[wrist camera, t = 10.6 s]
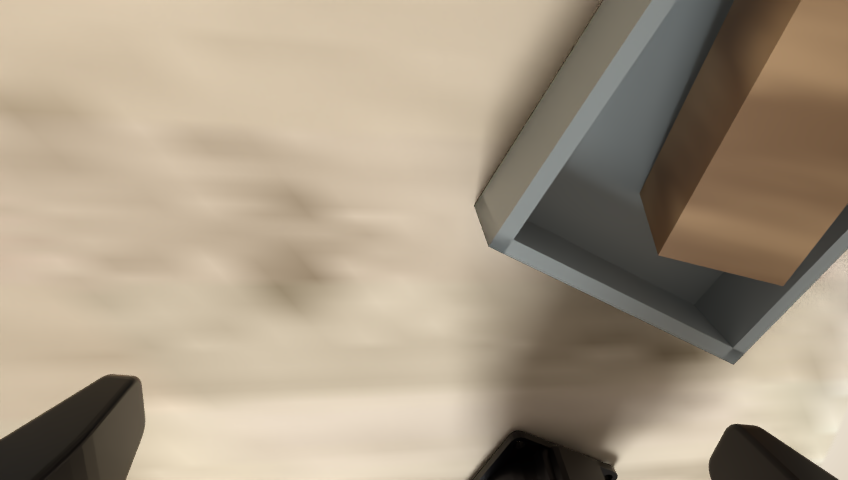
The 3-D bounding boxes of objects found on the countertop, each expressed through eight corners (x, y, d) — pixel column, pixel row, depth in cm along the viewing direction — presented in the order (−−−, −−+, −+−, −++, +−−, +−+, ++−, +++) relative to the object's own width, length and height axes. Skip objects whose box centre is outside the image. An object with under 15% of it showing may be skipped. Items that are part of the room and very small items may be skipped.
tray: (688, 312, 23) (733, 364, 20) (474, 205, 21) (488, 246, 17) (1013, -51, 17) (1149, -58, 14) (775, -273, 15) (879, -342, 11)
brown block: (783, 286, 17) (1164, -203, 9) (657, 255, 17) (938, -246, 10) (744, 218, 20) (1006, -184, 13) (639, 193, 20) (840, -217, 13)
